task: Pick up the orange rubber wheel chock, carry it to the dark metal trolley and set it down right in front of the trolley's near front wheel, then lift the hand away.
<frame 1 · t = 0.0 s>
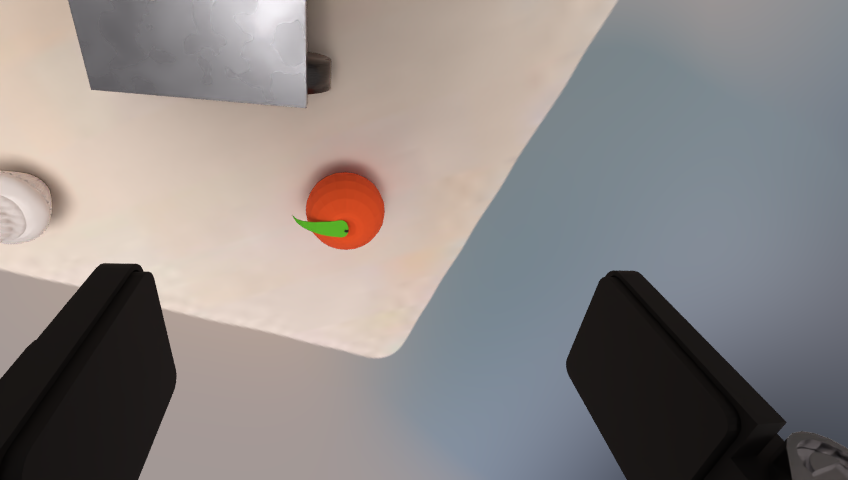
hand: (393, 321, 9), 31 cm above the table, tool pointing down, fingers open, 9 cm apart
clementine: (340, 193, 42), on the table
white lidded jar: (30, 189, 37), on the table
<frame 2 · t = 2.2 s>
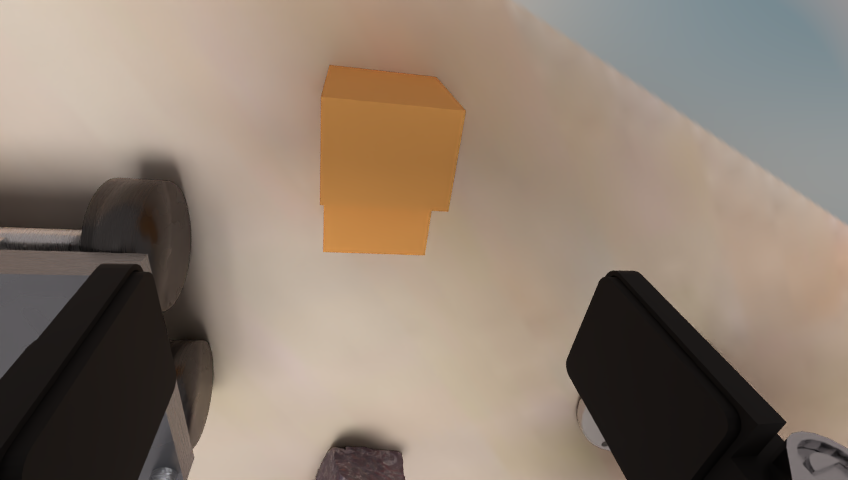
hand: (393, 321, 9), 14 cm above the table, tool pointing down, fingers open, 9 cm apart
chock: (377, 152, 22), on the table
trolley: (74, 290, 24), on the table
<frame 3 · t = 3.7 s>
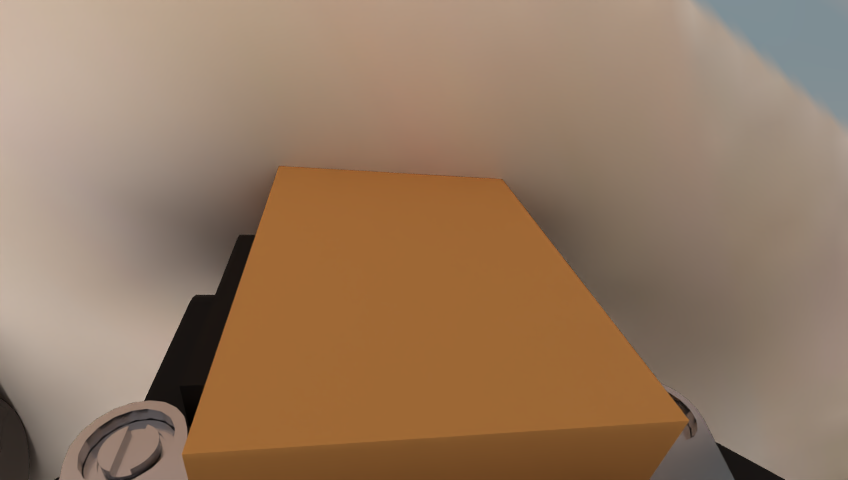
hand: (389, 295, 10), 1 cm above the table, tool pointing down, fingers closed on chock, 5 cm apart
chock: (382, 311, 12), on the table, touching gripper
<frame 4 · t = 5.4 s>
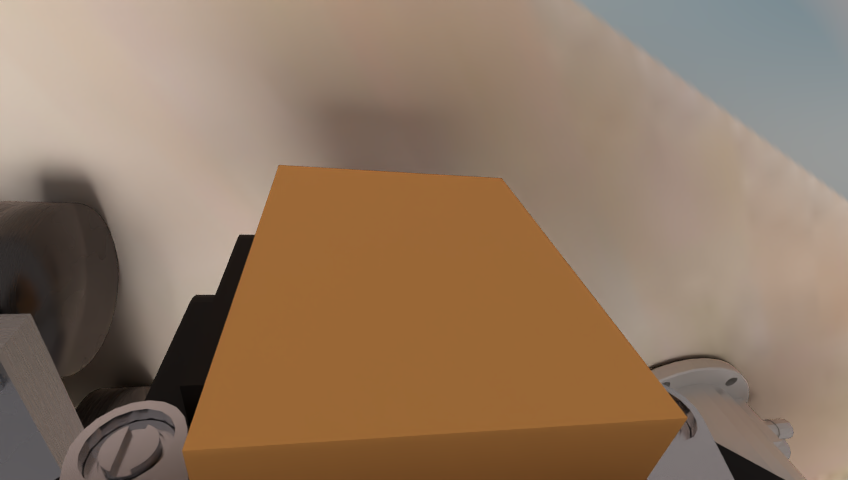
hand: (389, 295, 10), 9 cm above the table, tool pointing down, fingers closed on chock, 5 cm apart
chock: (382, 310, 12), point 8 cm above the table, touching gripper
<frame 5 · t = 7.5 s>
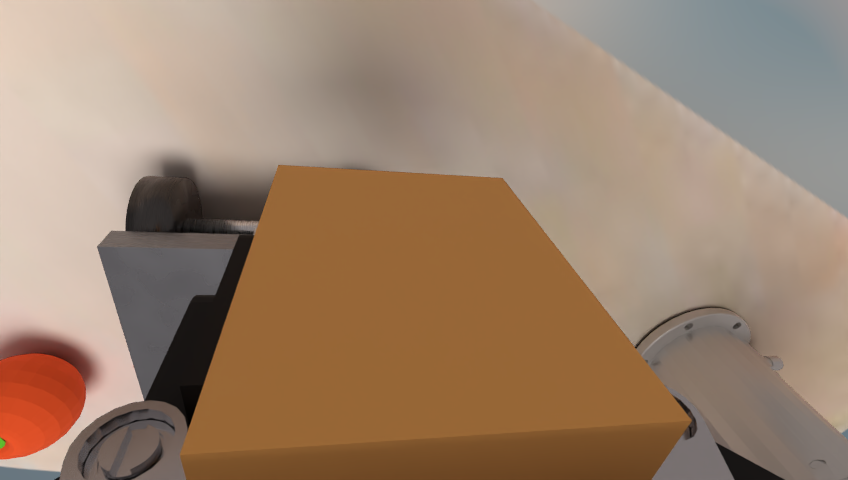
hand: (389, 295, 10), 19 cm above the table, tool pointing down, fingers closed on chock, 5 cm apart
clementine: (50, 359, 33), on the table
chock: (382, 310, 12), point 18 cm above the table, touching gripper
trolley: (276, 268, 32), on the table
when the fingers open (3 cm above the table, at t = 11.4 s): chock drops 2 cm, on the table.
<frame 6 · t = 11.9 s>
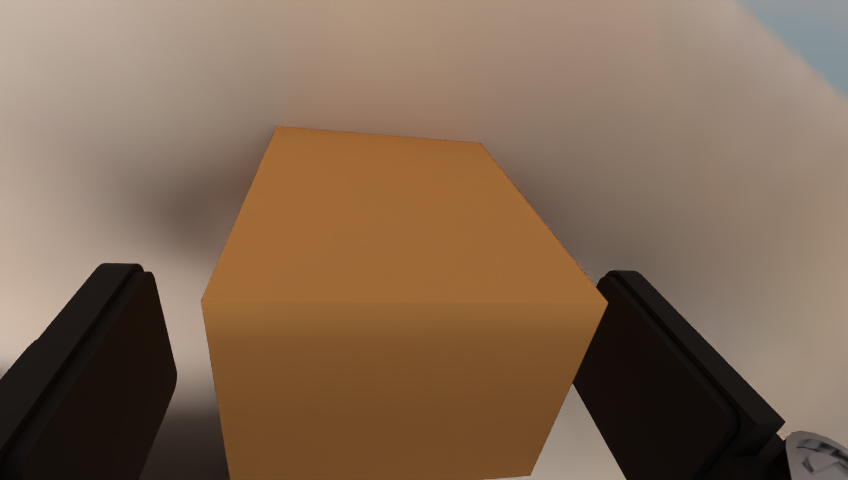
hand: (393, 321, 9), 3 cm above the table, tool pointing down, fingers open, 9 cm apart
chock: (371, 265, 13), on the table
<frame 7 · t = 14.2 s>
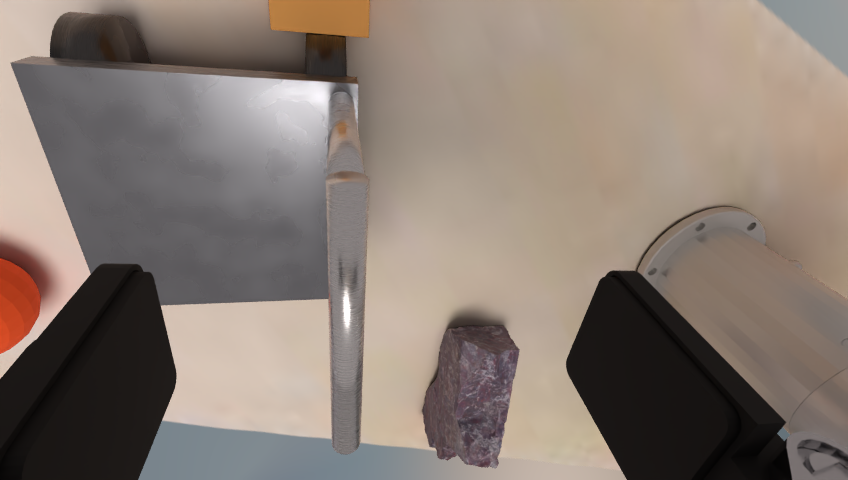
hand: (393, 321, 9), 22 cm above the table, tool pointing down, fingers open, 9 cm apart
clementine: (0, 267, 30), on the table
trolley: (244, 153, 28), on the table
stone: (454, 363, 44), on the table
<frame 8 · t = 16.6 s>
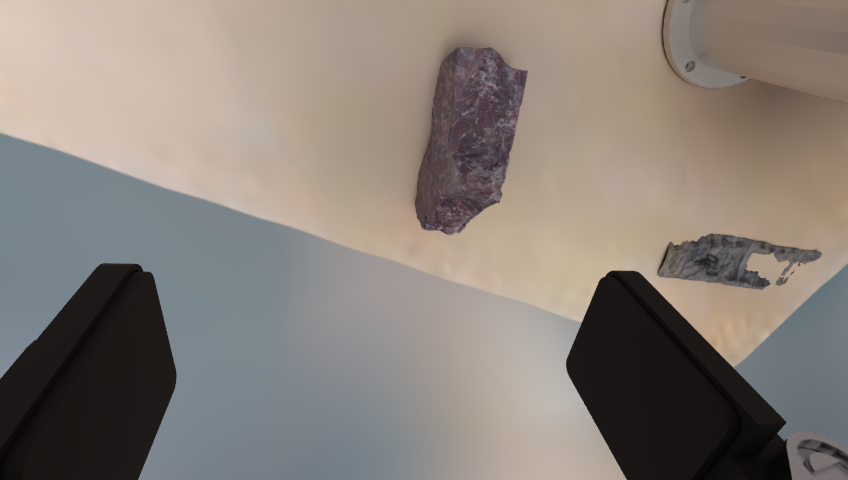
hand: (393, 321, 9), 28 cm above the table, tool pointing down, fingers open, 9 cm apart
grey flat jagged piece: (729, 260, 51), on the table
stone: (451, 132, 37), on the table
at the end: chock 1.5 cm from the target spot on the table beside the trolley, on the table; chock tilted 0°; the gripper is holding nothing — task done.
